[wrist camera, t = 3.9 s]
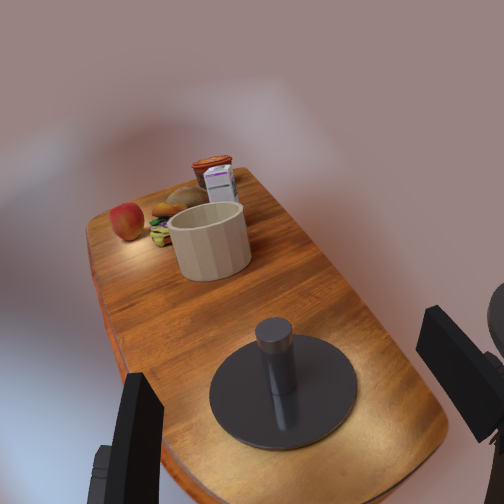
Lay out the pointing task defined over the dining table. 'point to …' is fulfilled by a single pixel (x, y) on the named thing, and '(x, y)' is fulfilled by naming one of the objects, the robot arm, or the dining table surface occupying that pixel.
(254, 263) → the dining table surface
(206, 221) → the pot
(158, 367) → the dining table surface
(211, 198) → the syrup box
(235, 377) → the lid
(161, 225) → the cheeseburger
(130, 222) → the apple
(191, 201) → the bread roll
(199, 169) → the food container
